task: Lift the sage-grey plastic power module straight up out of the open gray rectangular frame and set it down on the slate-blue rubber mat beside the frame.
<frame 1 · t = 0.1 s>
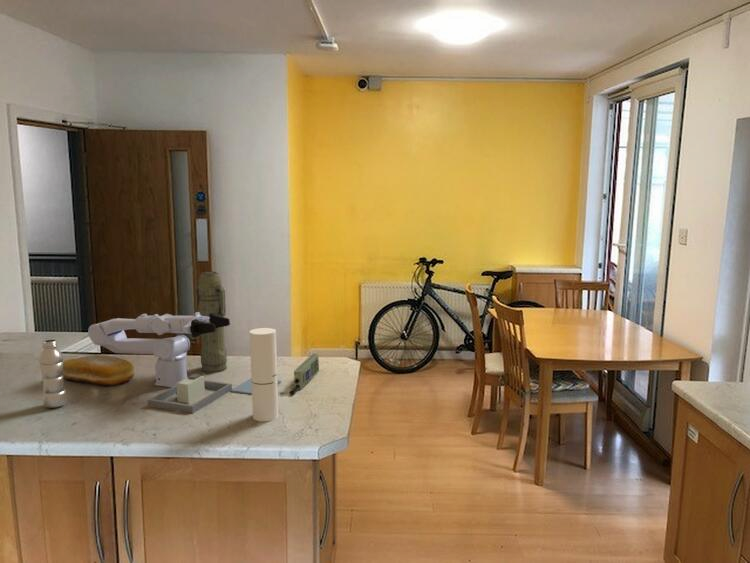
hand: (222, 324, 178), 22 cm above the countertop, tool horizontal, fingers open, 7 cm apart
handheld radio: (304, 383, 189), on the countertop
rubber mat: (256, 386, 184), on the countertop
bread: (98, 380, 192), on the countertop
plastic bottle: (55, 406, 168), on the countertop
power module: (191, 398, 175), resting in gray rectangular frame
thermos: (214, 369, 202), on the countertop
gray rectangular frame: (191, 397, 175), on the countertop
cylindrical container: (265, 417, 161), on the countertop
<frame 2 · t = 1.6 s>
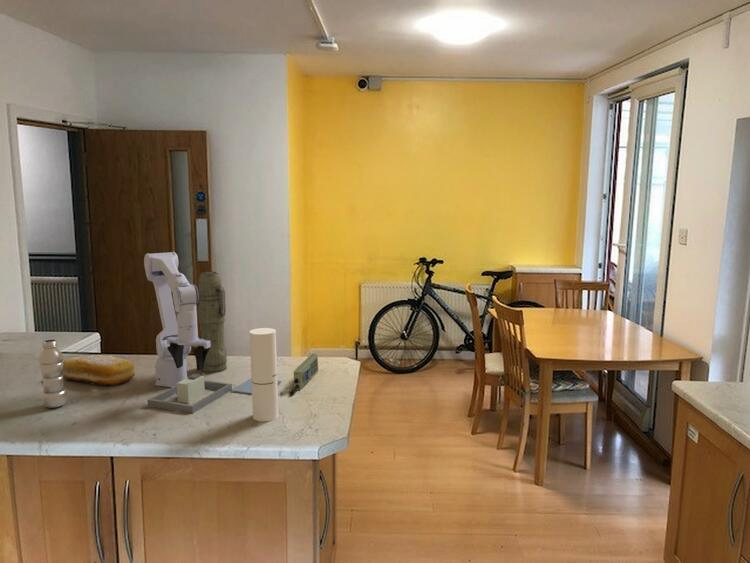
hand: (189, 368, 173), 9 cm above the countertop, tool pointing down, fingers open, 7 cm apart
nothing on the countertop moved.
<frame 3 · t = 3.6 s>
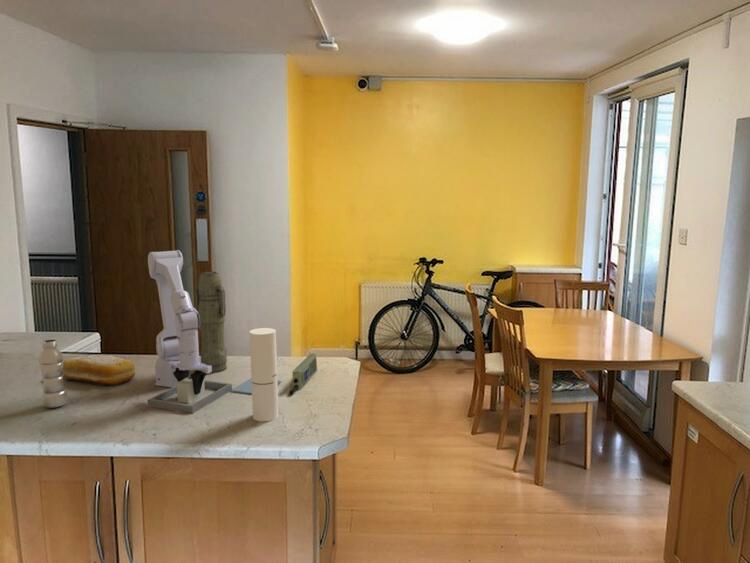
hand: (191, 392, 175), 2 cm above the countertop, tool pointing down, fingers closed on power module, 4 cm apart
power module: (191, 397, 175), resting in gray rectangular frame, touching gripper
everything else where it was.
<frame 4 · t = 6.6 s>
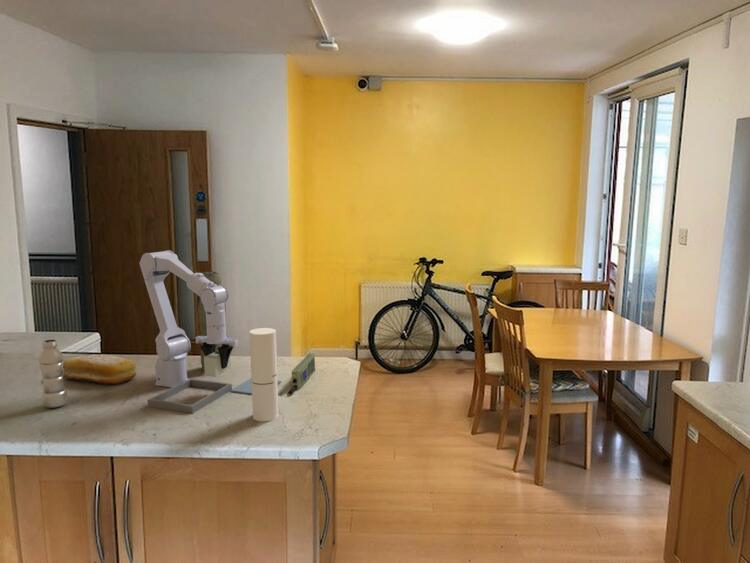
hand: (218, 366, 177), 9 cm above the countertop, tool pointing down, fingers closed on power module, 4 cm apart
power module: (218, 372, 177), point 7 cm above the countertop, touching gripper
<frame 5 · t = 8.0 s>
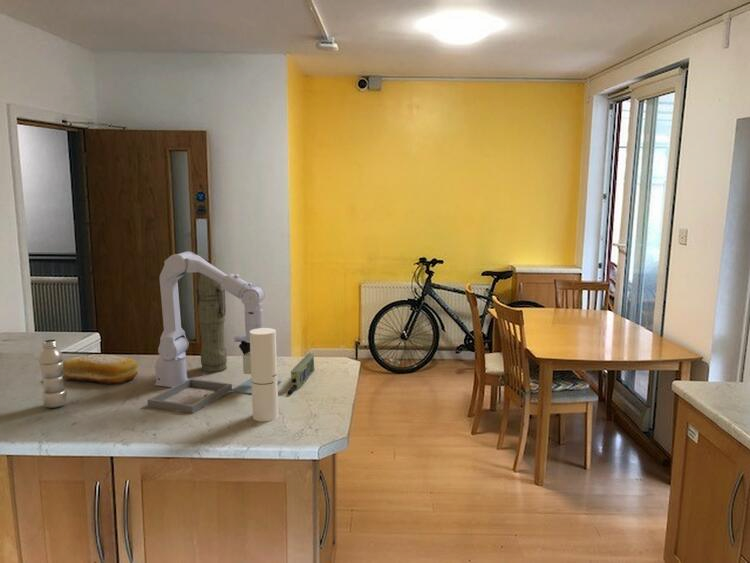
hand: (255, 364, 183), 7 cm above the countertop, tool pointing down, fingers closed on power module, 4 cm apart
power module: (255, 370, 183), point 6 cm above the countertop, touching gripper
when the fingers open (4 cm above the countertop, at t = 9.6 s): power module drops 1 cm, resting on rubber mat.
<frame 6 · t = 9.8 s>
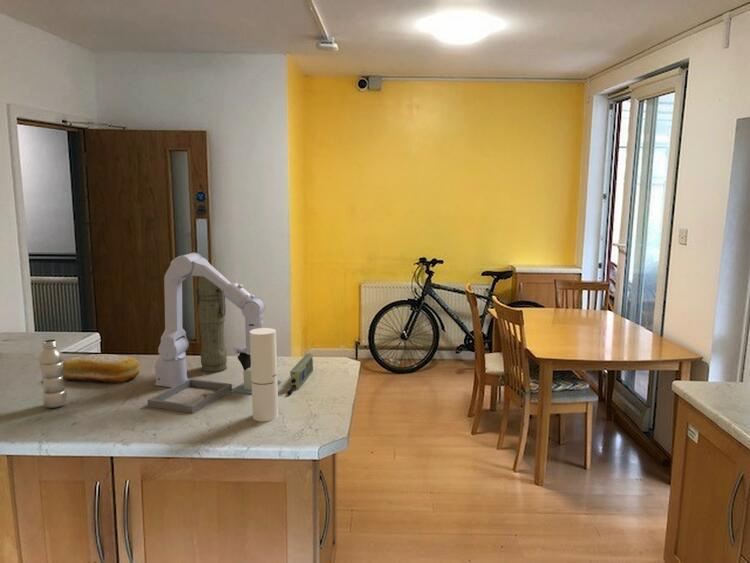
hand: (256, 376, 184), 4 cm above the countertop, tool pointing down, fingers open, 5 cm apart
power module: (256, 385, 184), resting on rubber mat
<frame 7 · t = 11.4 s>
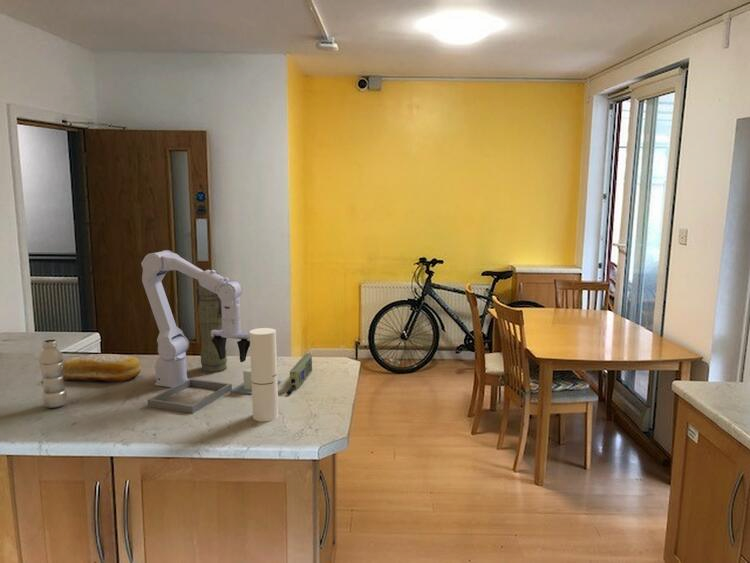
hand: (232, 359, 183), 9 cm above the countertop, tool pointing down, fingers open, 7 cm apart
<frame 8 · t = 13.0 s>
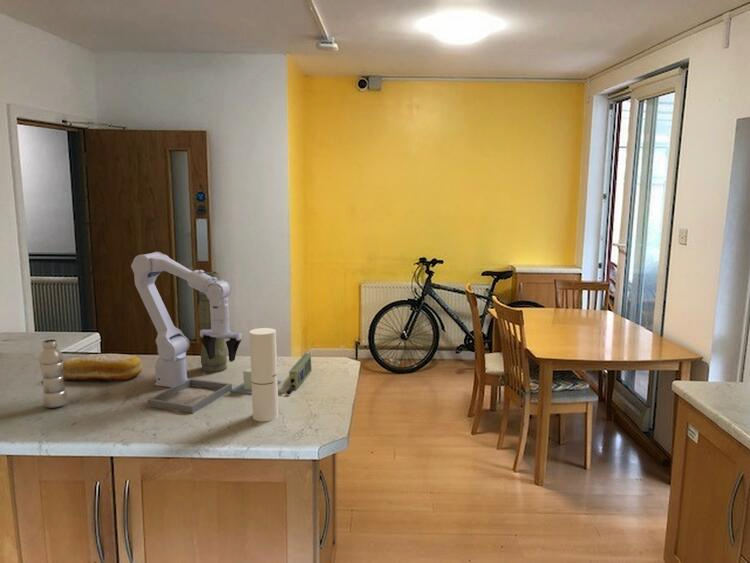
hand: (221, 359, 182), 9 cm above the countertop, tool pointing down, fingers open, 7 cm apart
at the end: power module inside the target area on the rubber mat (0.2 cm from its centre), point 0.5 cm above the rubber mat's base; the gripper is holding nothing; power module moved 20.3 cm from its start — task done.
